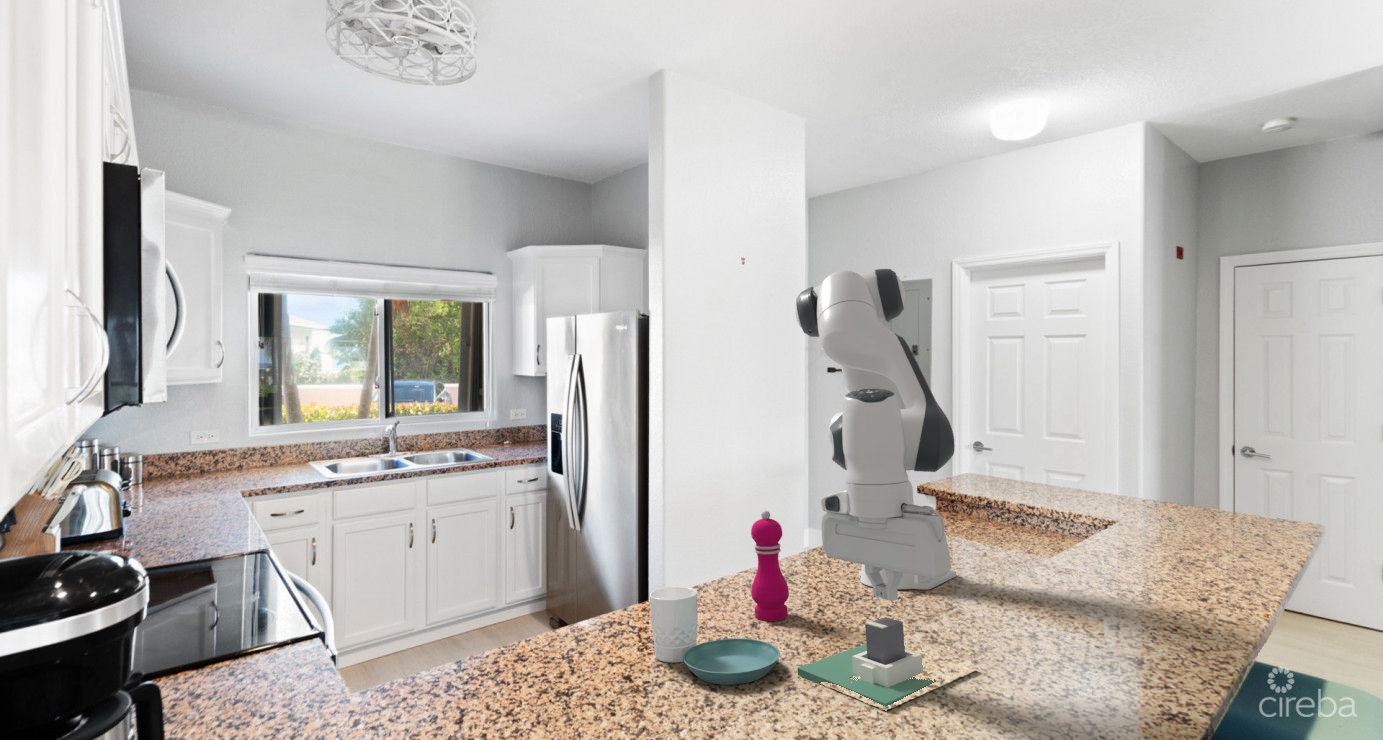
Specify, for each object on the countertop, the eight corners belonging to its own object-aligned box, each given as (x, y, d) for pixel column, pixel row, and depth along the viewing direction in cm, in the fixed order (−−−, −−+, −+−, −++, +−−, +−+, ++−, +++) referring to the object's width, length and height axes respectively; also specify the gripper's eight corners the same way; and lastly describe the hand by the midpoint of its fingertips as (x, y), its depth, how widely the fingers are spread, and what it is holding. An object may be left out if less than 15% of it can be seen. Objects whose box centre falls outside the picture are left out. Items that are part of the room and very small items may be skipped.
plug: (889, 666, 95) (885, 616, 96) (906, 672, 93) (902, 620, 93) (868, 674, 93) (864, 622, 93) (885, 680, 90) (881, 627, 91)
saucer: (743, 647, 109) (742, 631, 110) (801, 674, 97) (800, 656, 97) (666, 669, 102) (665, 651, 102) (719, 701, 89) (717, 681, 89)
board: (886, 643, 108) (885, 621, 108) (976, 671, 94) (974, 646, 95) (797, 674, 96) (796, 650, 96) (885, 711, 83) (883, 683, 83)
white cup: (683, 667, 101) (680, 601, 102) (642, 659, 105) (639, 596, 106) (709, 651, 108) (706, 589, 109) (669, 644, 112) (667, 585, 113)
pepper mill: (789, 622, 121) (782, 512, 122) (750, 622, 122) (744, 513, 124) (791, 610, 128) (785, 507, 129) (754, 610, 129) (748, 508, 131)
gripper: (955, 504, 88) (964, 608, 87) (840, 493, 105) (847, 580, 104) (927, 511, 84) (936, 620, 83) (812, 498, 101) (818, 589, 100)
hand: (885, 598), depth 94 cm, fingers closed
